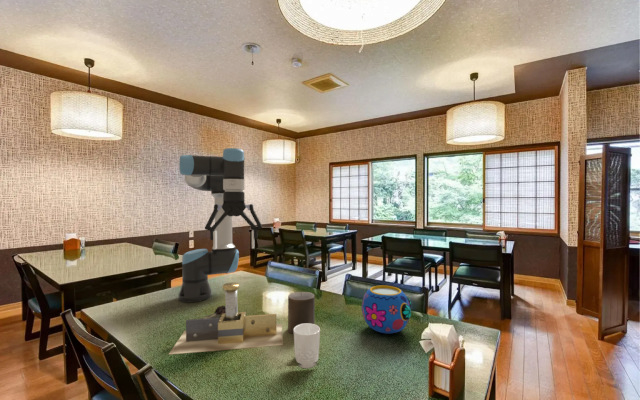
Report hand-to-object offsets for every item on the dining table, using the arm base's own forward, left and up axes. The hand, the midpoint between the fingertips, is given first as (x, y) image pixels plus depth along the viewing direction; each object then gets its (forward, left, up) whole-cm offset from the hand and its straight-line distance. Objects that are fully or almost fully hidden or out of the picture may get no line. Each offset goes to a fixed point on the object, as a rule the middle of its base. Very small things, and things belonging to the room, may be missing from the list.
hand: (234, 248), depth 108 cm
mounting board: (+8, 0, -31) cm, 32 cm away
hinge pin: (+8, 0, -29) cm, 30 cm away
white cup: (+25, +24, -31) cm, 46 cm away
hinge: (+8, 0, -29) cm, 30 cm away
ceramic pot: (+9, +55, -31) cm, 64 cm away
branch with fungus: (-8, -8, -31) cm, 33 cm away
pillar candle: (+6, +24, -31) cm, 40 cm away
